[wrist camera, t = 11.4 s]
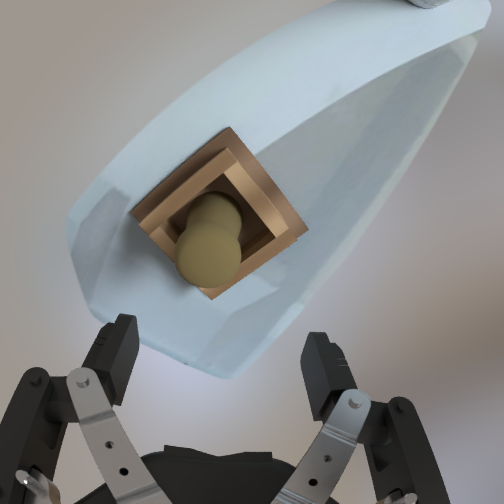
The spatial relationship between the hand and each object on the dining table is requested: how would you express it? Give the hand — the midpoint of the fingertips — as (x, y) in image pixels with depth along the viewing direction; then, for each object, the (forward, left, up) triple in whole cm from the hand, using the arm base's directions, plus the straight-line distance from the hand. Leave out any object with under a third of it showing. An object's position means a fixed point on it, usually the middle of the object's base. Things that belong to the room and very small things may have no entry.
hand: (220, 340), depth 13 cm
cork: (+1, -1, -20) cm, 20 cm away
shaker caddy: (+1, -1, -20) cm, 20 cm away
